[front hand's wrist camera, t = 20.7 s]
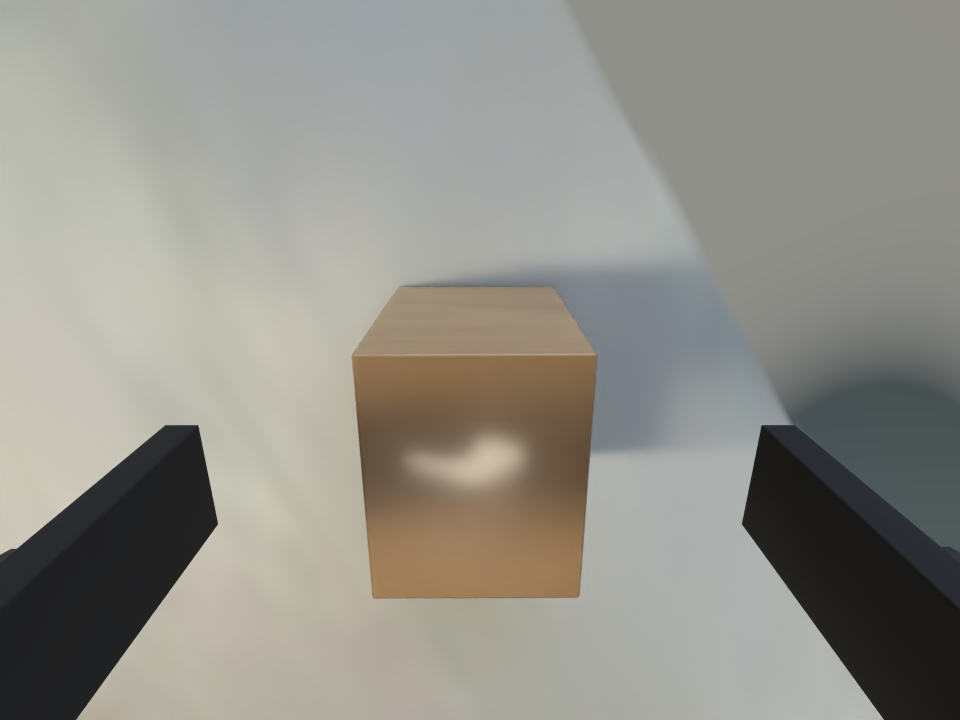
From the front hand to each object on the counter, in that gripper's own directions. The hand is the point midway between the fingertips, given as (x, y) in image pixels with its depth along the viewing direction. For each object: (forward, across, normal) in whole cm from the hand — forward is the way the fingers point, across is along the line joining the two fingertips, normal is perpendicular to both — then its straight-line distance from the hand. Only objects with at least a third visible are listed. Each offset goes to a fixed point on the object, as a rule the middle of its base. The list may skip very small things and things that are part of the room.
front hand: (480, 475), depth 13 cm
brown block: (+7, 0, 0) cm, 7 cm away
